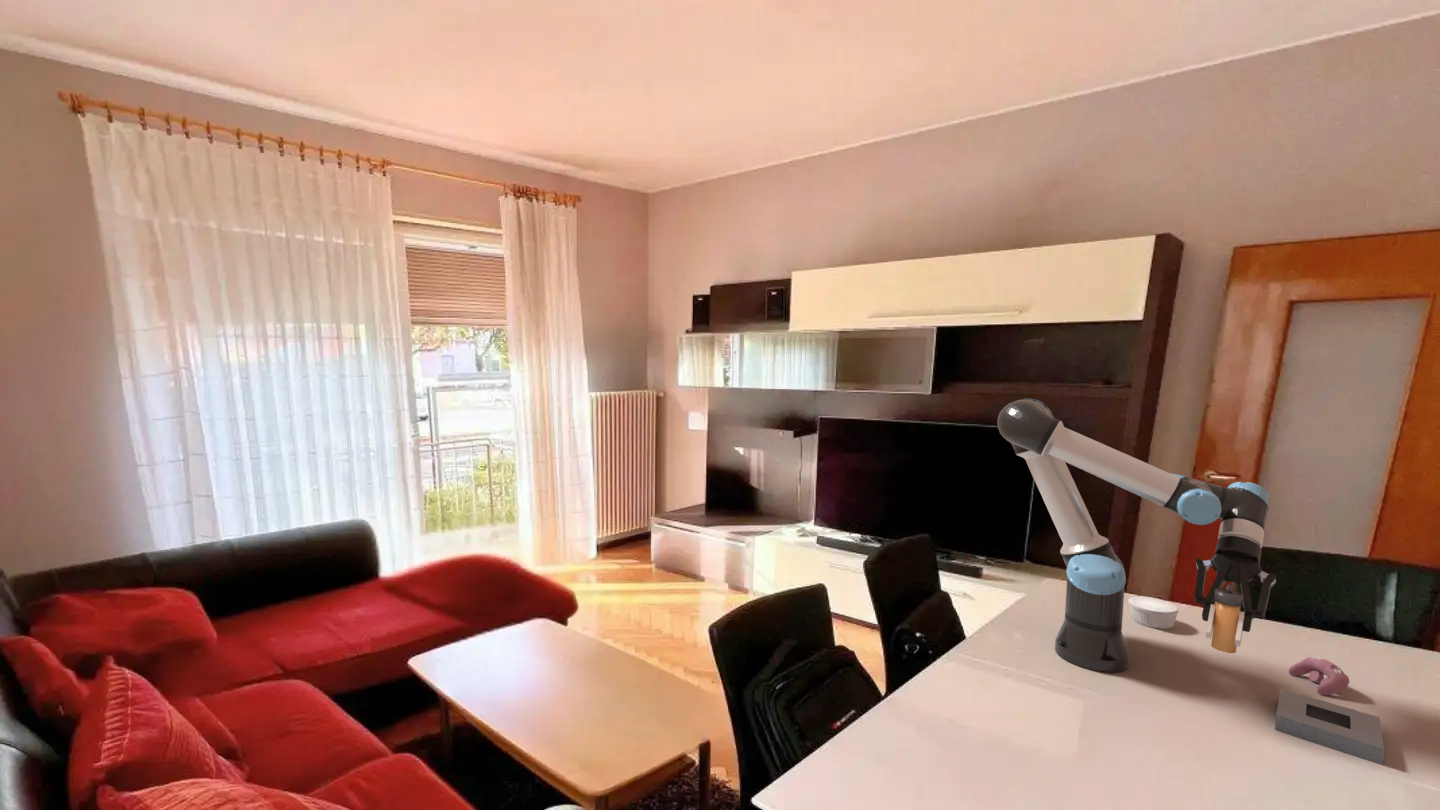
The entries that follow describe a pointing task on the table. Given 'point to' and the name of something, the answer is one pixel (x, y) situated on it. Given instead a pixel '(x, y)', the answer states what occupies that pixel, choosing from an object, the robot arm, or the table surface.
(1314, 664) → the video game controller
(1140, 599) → the ramekin
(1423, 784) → the table surface
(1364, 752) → the grey square socket block
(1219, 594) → the orange lidded canister
